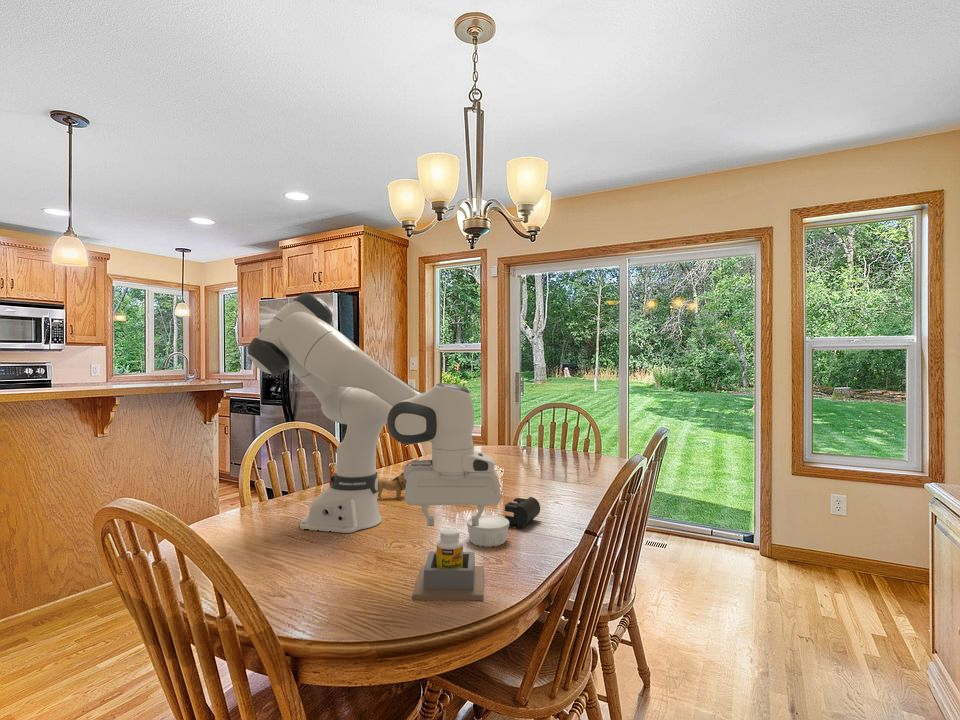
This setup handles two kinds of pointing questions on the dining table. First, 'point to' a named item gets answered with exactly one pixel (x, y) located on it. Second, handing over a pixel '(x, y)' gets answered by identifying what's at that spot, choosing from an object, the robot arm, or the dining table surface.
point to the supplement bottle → (449, 549)
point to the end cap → (522, 511)
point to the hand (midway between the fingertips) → (453, 525)
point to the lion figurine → (392, 485)
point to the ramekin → (488, 530)
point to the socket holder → (450, 580)
